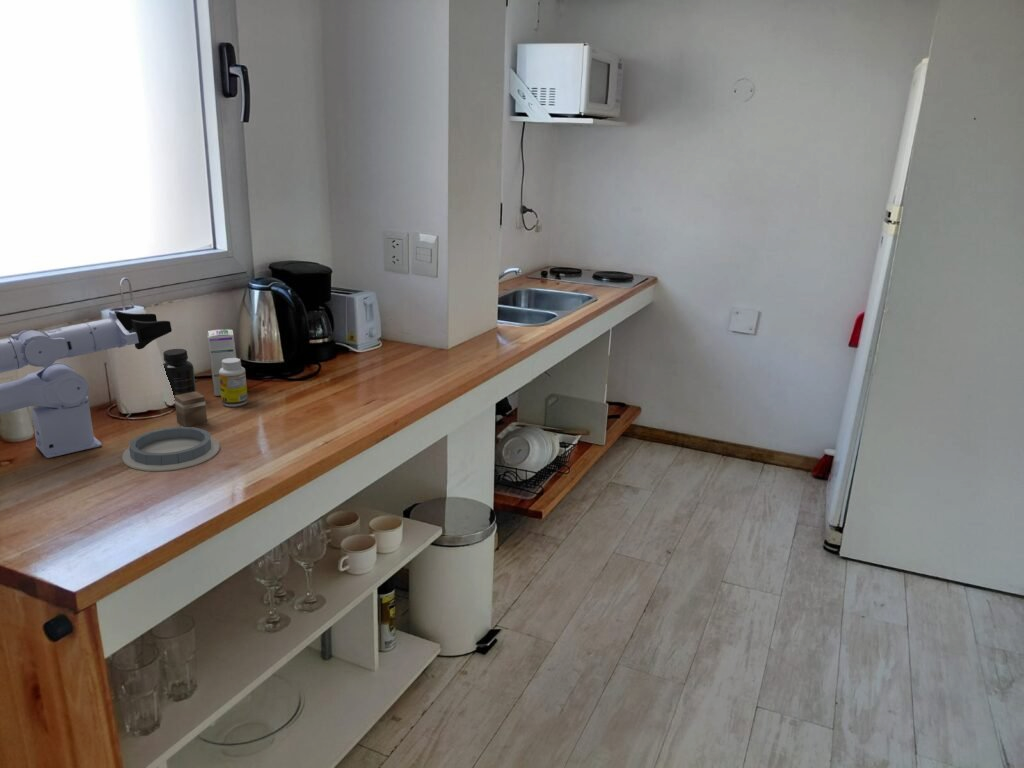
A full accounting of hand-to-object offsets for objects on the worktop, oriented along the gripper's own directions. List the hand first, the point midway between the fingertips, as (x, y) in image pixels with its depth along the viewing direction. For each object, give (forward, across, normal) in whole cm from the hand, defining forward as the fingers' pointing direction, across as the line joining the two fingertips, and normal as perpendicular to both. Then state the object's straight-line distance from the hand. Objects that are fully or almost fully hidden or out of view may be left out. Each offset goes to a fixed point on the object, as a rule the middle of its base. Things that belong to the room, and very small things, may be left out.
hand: (163, 322), depth 152 cm
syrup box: (+15, +13, +23) cm, 30 cm away
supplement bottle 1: (+4, +12, +22) cm, 26 cm away
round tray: (-8, -15, +21) cm, 27 cm away
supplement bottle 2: (+13, +4, +23) cm, 27 cm away
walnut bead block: (+1, -2, +22) cm, 22 cm away
